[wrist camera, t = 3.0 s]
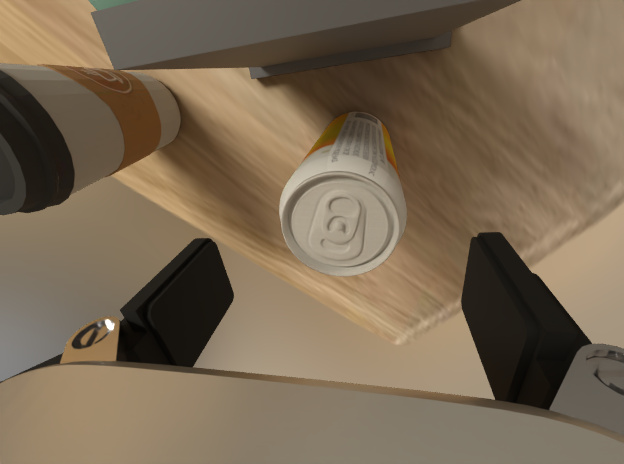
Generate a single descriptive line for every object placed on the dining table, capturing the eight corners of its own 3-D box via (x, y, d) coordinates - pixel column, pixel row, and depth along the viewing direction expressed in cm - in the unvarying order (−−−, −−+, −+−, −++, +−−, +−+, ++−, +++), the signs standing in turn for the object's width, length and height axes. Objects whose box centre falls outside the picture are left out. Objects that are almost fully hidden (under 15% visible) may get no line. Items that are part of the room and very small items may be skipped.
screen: (246, 35, 22) (53, -9, 9) (451, -5, 19) (649, -181, 5) (255, 78, 24) (101, 96, 10) (446, 47, 20) (593, 13, 7)
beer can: (317, 173, 27) (269, 269, 14) (327, 105, 24) (275, 151, 11) (380, 184, 26) (388, 294, 14) (398, 116, 23) (430, 178, 11)
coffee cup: (200, 85, 25) (22, 106, 12) (186, 167, 29) (45, 245, 17) (111, 42, 24) (-170, 17, 12) (111, 132, 29) (-93, 184, 16)
